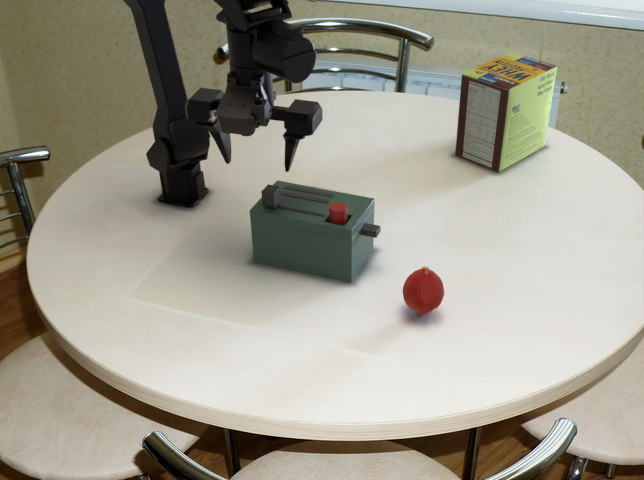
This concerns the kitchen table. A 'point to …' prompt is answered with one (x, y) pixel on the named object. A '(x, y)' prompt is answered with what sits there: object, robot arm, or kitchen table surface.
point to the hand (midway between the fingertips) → (258, 166)
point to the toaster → (314, 232)
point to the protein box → (504, 110)
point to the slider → (271, 196)
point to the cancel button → (338, 213)
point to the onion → (423, 290)
